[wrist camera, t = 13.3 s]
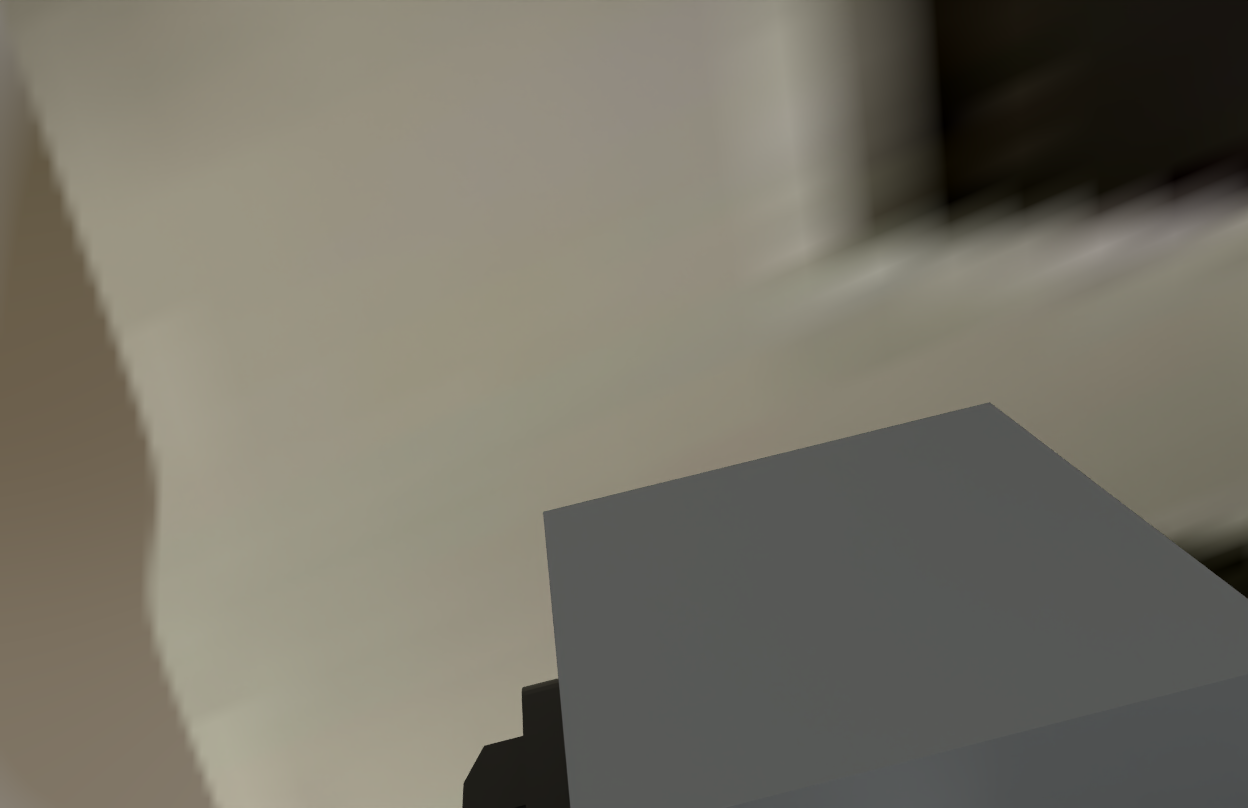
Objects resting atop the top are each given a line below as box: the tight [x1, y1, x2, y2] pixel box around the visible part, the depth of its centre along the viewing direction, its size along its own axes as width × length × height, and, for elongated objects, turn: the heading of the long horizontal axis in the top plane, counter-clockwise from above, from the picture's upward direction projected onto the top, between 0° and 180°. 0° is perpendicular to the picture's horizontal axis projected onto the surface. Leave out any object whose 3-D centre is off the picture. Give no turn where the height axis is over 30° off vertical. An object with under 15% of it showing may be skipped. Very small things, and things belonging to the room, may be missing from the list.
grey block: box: [543, 402, 1248, 808], centre depth 10 cm, size 5×5×5 cm
